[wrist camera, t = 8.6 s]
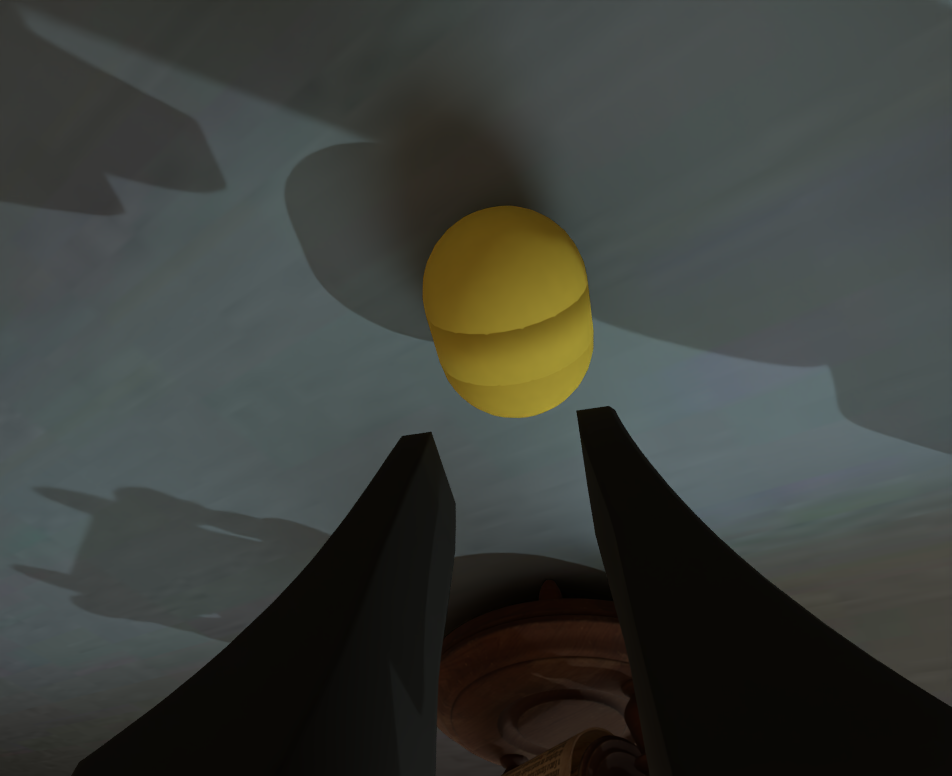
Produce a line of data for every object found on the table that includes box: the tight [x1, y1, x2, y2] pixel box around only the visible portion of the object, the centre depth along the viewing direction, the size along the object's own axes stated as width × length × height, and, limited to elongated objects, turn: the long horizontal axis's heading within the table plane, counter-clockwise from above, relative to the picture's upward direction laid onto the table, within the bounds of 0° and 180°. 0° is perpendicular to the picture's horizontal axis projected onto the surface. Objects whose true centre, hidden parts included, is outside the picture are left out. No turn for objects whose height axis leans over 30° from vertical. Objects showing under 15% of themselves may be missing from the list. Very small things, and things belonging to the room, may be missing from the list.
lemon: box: [423, 206, 594, 418], centre depth 16 cm, size 6×5×5 cm
